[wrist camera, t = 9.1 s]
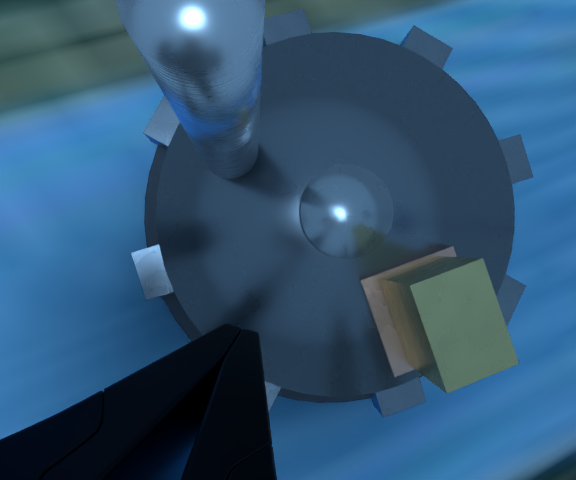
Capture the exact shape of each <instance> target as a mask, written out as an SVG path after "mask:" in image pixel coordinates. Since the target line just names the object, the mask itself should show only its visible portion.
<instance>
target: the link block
mask: <svg viewBox="0 0 576 480" xmlns="http://www.w3.org/2000/svg"><path fill="white" fill-rule="evenodd" d="M378 279H379V281H380V284H381V287H382V290H383V293H384V296H385V299H386V302H387V305H388V307H389V310H390V313H391V316H392V319H393V322H394V325H395V328H396V330H397V333H398V336H399V339H400V342H401V345H402V348H403V351H404V353H405V356H406V359H407V362H408V364H409V365H410V366H411V367H413V368H414V369H415V370H417V371H418V372H419V373H421V374H422V375H423V376H425V377H426V378H427V379H428V380H430V381H431V382H432V383H434V384H435V385H436V386H438V387H439V388H440V389H442V390H443V391H444V392H446V393H449V392H452V391H454V390H457V389H459V388H461V387H464V386H466V385H469V384H471V383H474V382H476V381H478V380H481V379H483V378H486V377H488V376H490V375H493V374H495V373H498V372H500V371H503V370H505V369H507V368H510V367H512V366H515V365H517V364H519V361H518V358H517V356H516V353H515V350H514V347H513V344H512V341H511V338H510V335H509V332H508V329H507V326H506V324H505V321H504V318H503V315H502V312H501V309H500V306H499V303H498V300H497V297H496V294H495V291H494V289H493V286H492V283H491V280H490V277H489V274H488V271H487V268H486V265H485V262H484V259H483V258H470V257H447V256H437V257H434V258H431V259H428V260H426V261H423V262H420V263H418V264H415V265H412V266H410V267H407V268H404V269H401V270H399V271H396V272H393V273H391V274H388V275H385V276H383V277H380V278H378Z"/></svg>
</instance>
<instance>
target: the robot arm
mask: <svg viewBox="0 0 576 480" xmlns="http://www.w3.org/2000/svg"><path fill="white" fill-rule="evenodd" d="M0 480H277V476H276V469H275V463H274V454H273V447H272V438H271V430H270V421H269V412H268V404H267V395H266V386H265V378H264V369H263V360H262V352H261V343H260V335H259V333H258V332H256V331H253V330H249V329H246V328H244V329H242V328H241V327H239V326H236V325H232V324H229V323H225V324H223V325H221V326H219V327H218V328H216V329H214V330H212V331H210V332H208V333H206V334H205V335H203V336H201V337H199V338H197V339H195V340H194V341H192V342H190V343H188V344H186V345H184V346H183V347H181V348H179V349H177V350H175V351H173V352H171V353H170V354H168V355H166V356H164V357H162V358H160V359H159V360H157V361H155V362H153V363H151V364H149V365H148V366H146V367H144V368H142V369H140V370H138V371H136V372H135V373H133V374H131V375H129V376H127V377H125V378H124V379H122V380H120V381H118V382H116V383H114V384H113V385H111V386H109V387H107V388H105V389H104V393H103V391H99V392H97V393H96V394H94V395H92V396H90V397H88V398H86V399H85V400H83V401H81V402H79V403H77V404H75V405H73V406H71V407H69V408H67V409H65V410H63V411H61V412H59V413H57V414H55V415H53V416H51V417H49V418H47V419H45V420H43V421H40V422H38V423H36V424H34V425H32V426H30V427H27V428H25V429H23V430H21V431H19V432H16V433H14V434H12V435H10V436H7V437H5V438H3V439H1V440H0Z"/></svg>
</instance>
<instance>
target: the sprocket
mask: <svg viewBox="0 0 576 480" xmlns="http://www.w3.org/2000/svg"><path fill="white" fill-rule="evenodd" d="M116 2H117V7H118V12H119V15H120V18H121V20H122V23H123V25H124V26H125V28H126V30H127V32H128V34H129V35H130V37H131V39H132V40H133V42H134V44H135V46H136V47H137V49H138V51H139V52H140V54H141V56H142V58H143V59H144V61H145V63H146V64H147V66H148V68H149V70H150V71H151V73H152V75H153V76H154V78H155V80H156V82H157V83H158V85H159V87H160V88H161V90H162V92H163V94H164V97H163V98H162V100H161V102H160V104H159V106H158V107H157V109H156V111H155V113H154V114H153V116H152V118H151V120H150V122H149V123H148V125H147V127H146V129H145V131H144V132H143V133H144V134H145V135H146V136H147V137H148V138H149V139H150V141H151V142H153V143H155V144H157V145H159V146H161V147H163V148H164V149H166V150H167V152H166V155H165V159H164V162H163V165H162V168H161V173H160V179H159V185H158V191H157V209H156V222H157V232H158V241H159V245H155V246H152V247H149V248H146V249H142V250H139V251H136V252H133V253H131V254H132V257H133V260H134V264H135V267H136V270H137V273H138V276H139V279H140V282H141V286H142V289H143V292H144V295H145V298H146V300H150V299H153V298H156V297H159V296H162V295H165V294H168V293H171V292H174V293H175V295H176V297H177V298H178V300H179V302H180V304H181V305H182V307H183V309H184V311H185V313H186V314H187V316H188V317H189V318H190V320H191V321H192V322H193V324H194V325H195V326H196V328H197V329H198V330H199V332H200V333H201V334H202V335H205V334H206V333H208V332H210V331H212V330H214V329H216V328H218V327H219V326H221V325H223V324H225V323H229V324H232V325H236V326H239V327H241V328H242V329H244V328H246V329H249V330H253V331H256V332H258V333H259V335H260V343H261V352H262V360H263V369H264V378H265V386H266V395H267V404H268V412H269V411H270V409H271V407H272V405H273V403H274V401H275V399H276V397H277V395H278V393H279V391H280V389H281V388H284V389H288V390H292V391H296V392H300V393H304V394H311V395H319V396H328V397H337V396H357V395H364V394H370V395H371V398H372V401H373V405H374V406H375V408H376V409H377V410H378V411H379V413H380V414H381V415H382V417H383V418H384V417H387V416H389V415H392V414H395V413H397V412H400V411H403V410H405V409H408V408H411V407H413V406H416V405H419V404H421V403H424V402H426V399H425V395H424V392H423V389H422V386H421V383H420V379H419V377H420V376H421V375H422V374H421V373H419V372H418V371H417V370H415V369H414V368H413V367H411V366H410V365H409V364H408V362H407V359H406V356H405V353H404V351H403V348H402V345H401V342H400V339H399V336H398V333H397V330H396V328H395V325H394V322H393V319H392V316H391V313H390V310H389V307H388V305H387V302H386V299H385V296H384V293H383V290H382V287H381V284H380V281H379V279H378V278H380V277H383V276H385V275H388V274H391V273H393V272H396V271H399V270H401V269H404V268H407V267H410V266H412V265H415V264H418V263H420V262H423V261H426V260H428V259H431V258H434V257H437V256H447V257H470V258H483V259H484V262H485V265H486V268H487V271H488V274H489V277H490V280H491V283H492V286H493V289H494V291H495V294H496V297H497V300H498V303H499V306H500V309H501V312H502V315H503V318H504V321H505V324H506V326H507V325H508V323H509V321H510V319H511V317H512V315H513V312H514V310H515V308H516V306H517V304H518V302H519V300H520V297H521V295H522V293H523V291H524V289H525V287H526V285H524V284H522V283H520V282H518V281H516V280H515V279H513V278H511V277H509V276H507V275H505V274H506V271H507V267H508V263H509V259H510V255H511V251H512V243H513V236H514V198H513V190H512V184H513V183H516V182H519V181H522V180H526V179H529V178H532V177H533V174H532V171H531V168H530V164H529V161H528V158H527V155H526V151H525V148H524V145H523V142H522V138H521V135H520V134H519V135H516V136H513V137H510V138H506V139H503V140H500V141H498V139H497V137H496V135H495V133H494V131H493V129H492V127H491V125H490V124H489V122H488V120H487V118H486V117H485V116H484V114H483V113H482V111H481V110H480V108H479V107H478V105H477V104H476V103H475V101H474V100H473V99H472V98H471V97H470V96H469V95H468V93H467V92H466V91H465V90H464V89H463V88H462V87H461V86H460V84H458V83H457V82H456V81H455V80H454V79H453V78H451V77H450V76H449V75H448V74H447V73H446V72H445V71H443V70H442V68H443V67H444V65H445V63H446V61H447V59H448V57H449V55H450V53H451V51H452V49H453V48H451V47H450V46H448V45H446V44H445V43H443V42H441V41H440V40H438V39H436V38H435V37H433V36H431V35H429V34H428V33H426V32H424V31H423V30H421V29H419V28H418V27H416V26H413V27H412V29H411V30H410V31H409V33H408V34H407V35H406V37H405V38H404V40H403V41H402V43H401V45H397V44H394V43H392V42H389V41H386V40H383V39H379V38H375V37H370V36H365V35H361V34H351V33H339V32H331V33H311V30H310V27H309V24H308V20H307V17H306V14H305V11H304V9H301V10H297V11H293V12H289V13H285V14H281V15H277V16H273V17H269V18H265V19H264V12H265V0H116Z"/></svg>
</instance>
